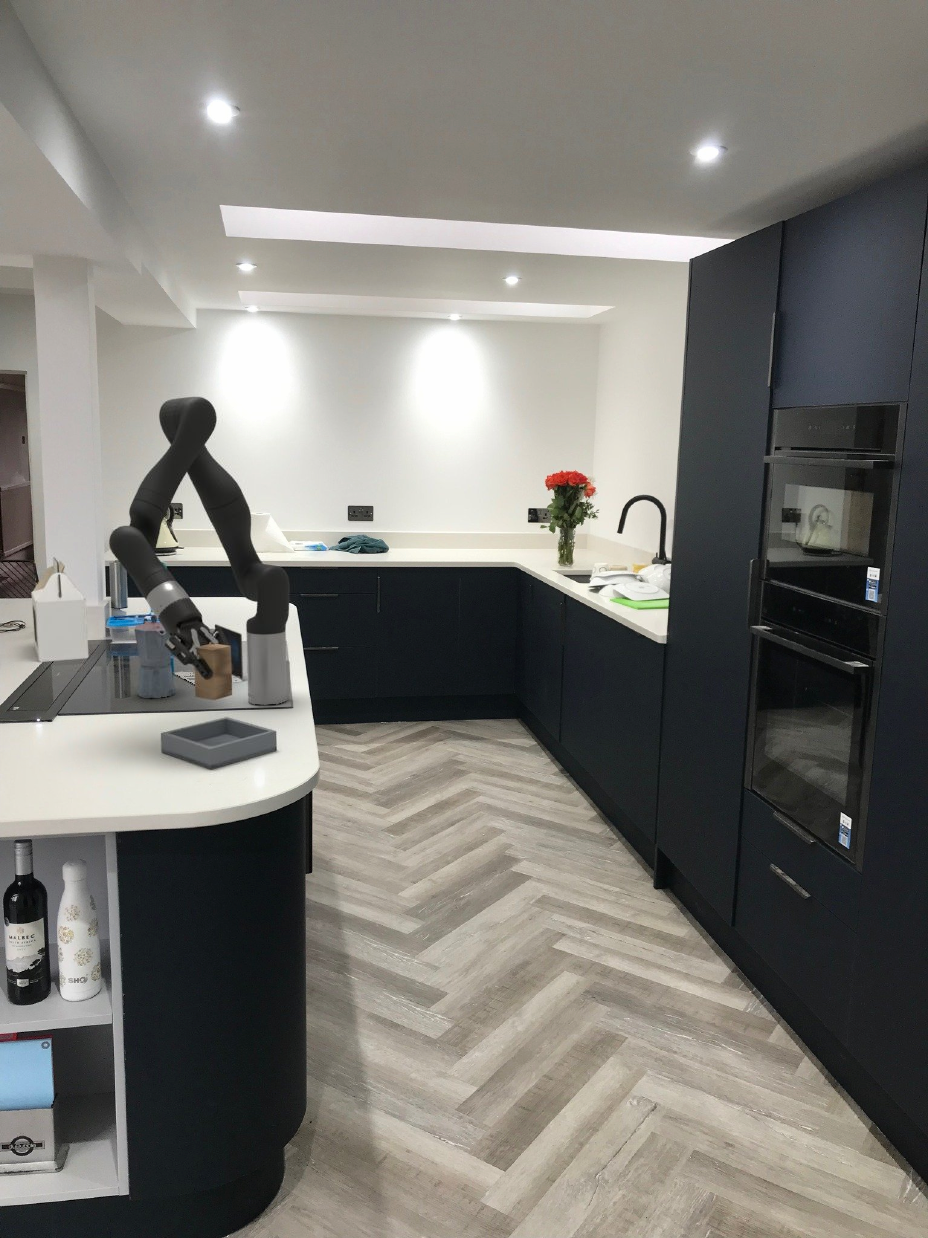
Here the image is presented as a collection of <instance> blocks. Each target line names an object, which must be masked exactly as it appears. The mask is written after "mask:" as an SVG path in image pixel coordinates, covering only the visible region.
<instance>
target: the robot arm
mask: <svg viewBox="0 0 928 1238" xmlns="http://www.w3.org/2000/svg"><path fill="white" fill-rule="evenodd" d="M158 418H159V423H160V428H161V430H162V432H163V433H164V435H165V437H166V439H167V441H168V443H169V444H170V446H169V448H168V449H167V451H166V452H165V453H164V454H163V455H162V457H160V459H159V460H158V461H157V462H156V464H154V466H153V467H152V468H151V469H150V470H149V471H148V473H147V474H146V475H145V477H144V478H143V479H142V481H141V483H140V484H139V487H138V488H137V491H136V493H135V494H134V497H133V500H132V502H131V503H130V507H129V509H128V510H129V511H128V512H129V513H128V515H129V519H130V521H129V522H130V523H129V525H121V526H118V527H116V528H115V529H114V530H113V531H112V532H111V533H110V536H109V540H108V545H109V549H110V551H111V553H112V554H113V555H114V557H115V558H116V560H118V562H119V563H120V565H121V566H122V567H123V568H124V570H125V571H126V572H127V573H128V574H129V576H130V577H131V579H132V580H133V582H134V584H135V585H136V587H137V589H138V591H139V593H141V595H142V596H143V598H144V599H145V600H146V602H147V605H148V606H149V608H150V610H151V612H152V613H153V615H154V616H156V617H157V620H158V622H160V623H161V624H162V626H163V627H164V629H165V630H166V632H167V633H168V634H169V636H170V638H169V639H168V640H167V642H166V643H165V647H166V648H167V649H168V650H169V651H170V652H171V655H173V656H174V657H175V658H176V659H177V660H178V661H179V662H180V663H181V664H182V665H183V666H188V665H191V666H192V667H194V666H195V668H196V669H197V670H198V672H199V673H200V675H201V676H202V677H203V678H204V679H205V680H208V679H210V678H211V676H212V675H213V671H212V670H211V669H210V667H209V666H208V664H207V663H206V661H205V660H204V659H201V658H202V655H201V654H200V652H199V651H198V648H200V646H202V645H207V644H221V645H228V646H229V644H228V641H227V639H226V637H225V635H224V633H223V631H222V629H221V627H219V626H217V627H216V628H215V627H214V628H209V626H207V625H206V624H205V623H204V621H203V615H202V613H201V612H200V610H199V609H198V607H197V606H196V604H195V603H194V602H193V600H192V599H191V598H190V596H189V595H188V593H187V592H186V591H185V589H184V588H183V587H182V586H181V585H180V584H179V583H178V582H177V579H175V577H174V576H173V574H172V573H171V572H170V571H169V569H168V568H167V567H166V566H165V564H164V563H163V562H162V561H161V560H160V559H159V557H158V556H157V554H156V552H155V551H156V548H157V546H158V541H159V536H160V532H161V526H162V523H163V520H164V519H165V517H166V515H167V512H168V511H169V508H170V506H171V503H172V501H173V499H174V497H175V495H176V493H177V491H178V489H179V487H180V484H181V483H182V481H183V479H184V478H185V476H186V474H187V476H188V477H189V479H190V482H191V483H192V485H193V487H194V489H195V492H196V493H197V495H198V497H199V500H200V502H201V504H202V506H203V508H204V509H203V510H204V512H206V515H207V517H208V520H209V521H210V522H211V525H212V527H213V529H214V531H215V533H216V534H217V538H218V539H219V542H220V543H221V546H222V548H223V550H224V551H225V555H226V556H227V559H228V562H229V565H230V567H231V570H232V572H233V573H232V574H233V577H234V579H235V581H236V585H237V586H238V589H239V591H240V593H241V594H242V595H243V597H244V598H245V599H247V600H249V601H251V602H256V613H255V614H254V616H252V617H250V618H248V619H247V620H246V621H245V627H246V628H245V629H246V630H245V631H246V659H247V660H246V665H247V666H246V668H247V701H248V703H249V702H250V703H249V704H251V703H252V704H251V705H255V704H261V705H260V706H263V705H262V704H276V705H280V704H279V703H281V704H283V703H282V702H284V703H286V702H287V701H289V700H291V665H290V660H287V634H286V633H287V631H286V630H287V628H286V626H287V622H288V620H289V615H290V614H289V613H290V592H291V591H290V589H291V587H290V580H289V576H288V574H287V572H286V571H285V569H283V568H282V567H280V565H279V566H278V565H273V564H267V563H263V562H262V560H261V559H260V557H259V555H258V552H257V551H256V549H255V547H254V544H253V541H252V515H251V510H250V507H249V504H248V501H247V499H246V498H245V494H244V493H243V491H242V489H241V487H240V485H239V483H238V482H237V481H236V480H235V478H233V476H232V475H231V474H230V473H229V472H228V471H227V470H226V469H225V468H224V467H223V466H222V465H221V464H220V463H219V462H218V461H217V460H216V459H215V458H214V457H213V456H212V454H211V453H210V451H209V450H208V447H206V444H207V442H208V441H209V439H210V437H211V435H213V432H214V431H215V429H216V426H217V418H218V417H217V411H216V409H215V407H214V405H213V404H212V403H211V401H209V400H208V399H206V398H204V397H201V396H188V397H186V396H185V397H178V398H172V399H168V400H167V401H164V402H163V403H162V405H161V406H160V409H159V414H158ZM233 669H234V667H233V664H232V663H231V670H233ZM285 701H286V702H285Z"/></svg>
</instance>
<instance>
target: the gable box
mask: <svg viewBox="0 0 928 1238" xmlns="http://www.w3.org/2000/svg"><path fill="white" fill-rule="evenodd" d="M64 569H65V564H64V563H62V561H61V560H59V561H58V559H57V558H56V557H52V566H50V567H48V568H46V570H45V572H44V573H43V574H42V576H41V578H40V579H39V580H38V582H37V584H36V585H35V587H34V589H33V590H32V591H31V593H30V594H31V607H32V618H33V619H32V621H33V622H32V623H33V637H34V639H33V640H34V650H35V653H36V655H37V659H38V662H39V663H46V662H48V663H49V662H58V661H59V662H60V661H72V660H84V659H85V660H86V659H89V640H88V639H89V637H88V624H87V623H88V622H87V619H88V618H87V604H86V602H87V601H86V598H85V597H84V595H83V594H82V593H81V592H80V590H79V589H77V587H76V586H75V584H74V583H73V582H72V580H71V579H70V578H69V576H68V575H67V574H66V573H65V571H64Z"/></svg>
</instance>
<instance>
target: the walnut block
mask: <svg viewBox="0 0 928 1238" xmlns="http://www.w3.org/2000/svg"><path fill="white" fill-rule="evenodd" d="M198 651H199V652H200V654H201V655H202V658H201V659H204V660H205V661H206V663H207V664H208V666H209V667H210V669H211V670H212V671H213V675H212V676H211V678H210V679H208V680H205V679H204V678H203V677H202V676H201V675H200V673H199V672H198V670H197V669H196V668H195V666H193V667H194V669H193V670H195V685H194V690H195V693H194V694H195V698H200V699H204V700H210V701H211V700H212V701H216V700H220V699H223V698H227V697H230V696H233V683H232V670H231V646H228V645H221V644H211V643H209V644H207V645H202V646H200V648H198Z"/></svg>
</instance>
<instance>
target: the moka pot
mask: <svg viewBox="0 0 928 1238" xmlns="http://www.w3.org/2000/svg"><path fill="white" fill-rule="evenodd" d="M150 619H151V620H148V619H147V618H143V623H141V624H138V625H137V624H136V625H135V627H134V637H135V641H136V647H137V654H138V655H137V656H138V658H139V664H140V665H139V672H138V683H137V692H136V693H137V696H138V697H140V698H144V699H149V698H157V699H162V698H161V697H165V698H168V697H167V696H169V697H171V696H173V695H174V694H175V693H176V688H175V687H176V686H175V682H174V676H173V670H172V665H171V657H172V653H171V652H170V651H169V650H168V649H167V648H166V647H165V643H166V642H167V640H168V639H169V638H170V636H169V634H168V633H167V632H166V630H165V629H164V627H163V626H162V624H161V623H160V622H159V621H157V620H158V619H157V617H156V616H155V615H151V616H150Z"/></svg>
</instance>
